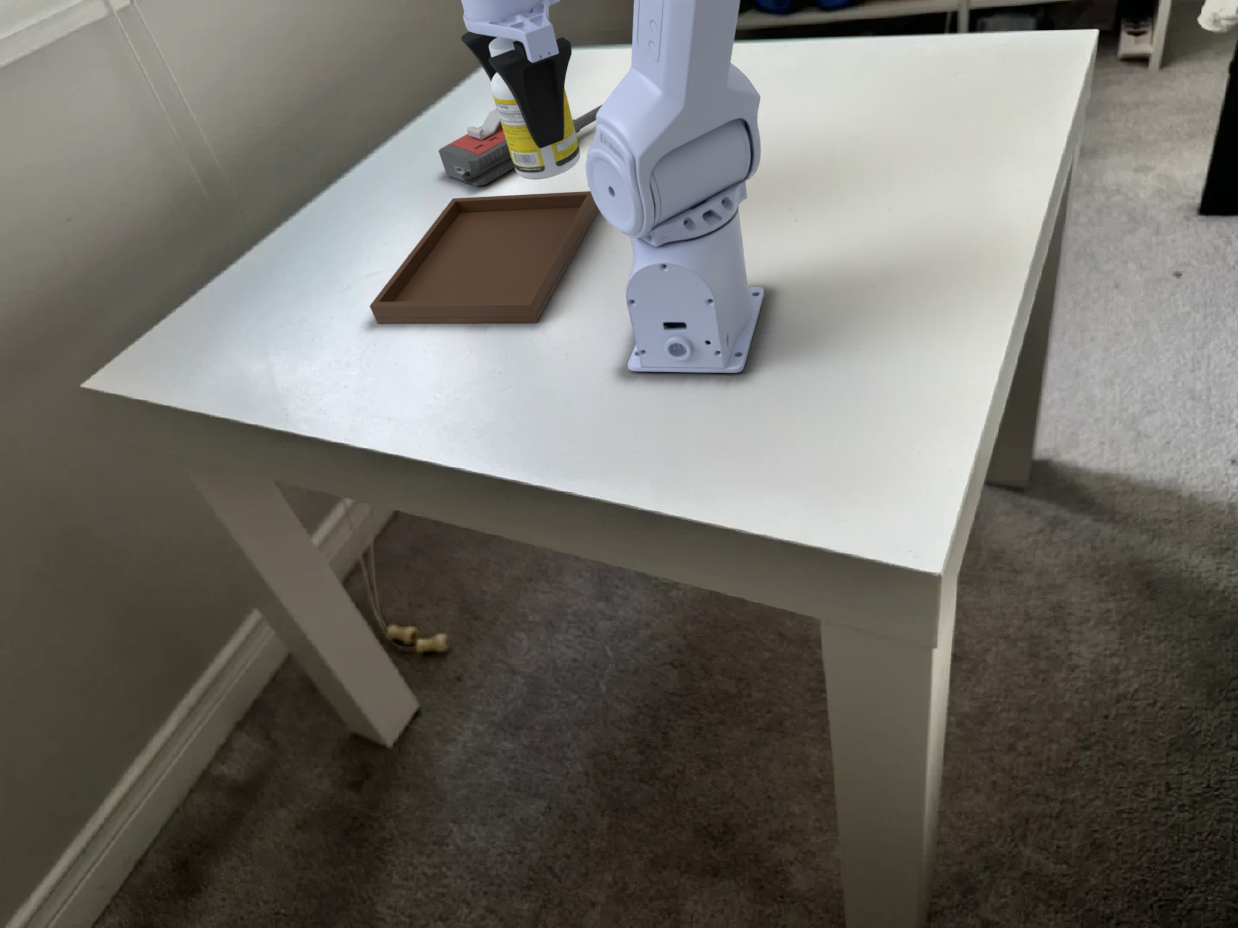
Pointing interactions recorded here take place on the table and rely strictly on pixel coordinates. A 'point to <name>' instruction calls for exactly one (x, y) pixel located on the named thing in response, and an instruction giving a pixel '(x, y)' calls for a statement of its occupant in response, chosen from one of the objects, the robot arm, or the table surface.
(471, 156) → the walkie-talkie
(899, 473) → the table surface
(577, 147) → the supplement bottle
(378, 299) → the tray
